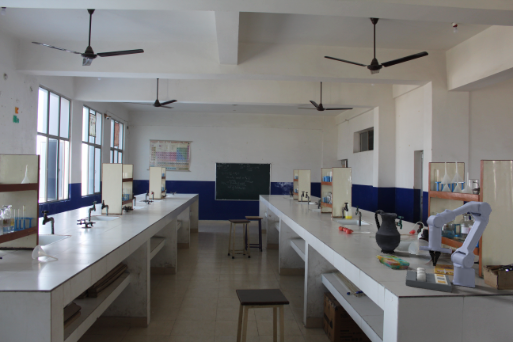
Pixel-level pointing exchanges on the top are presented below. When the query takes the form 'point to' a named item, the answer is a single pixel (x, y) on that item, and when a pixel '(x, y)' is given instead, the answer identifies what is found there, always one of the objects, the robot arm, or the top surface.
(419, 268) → the button
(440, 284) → the board
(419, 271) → the button middle
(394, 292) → the top surface
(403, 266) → the puzzle game
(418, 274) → the button
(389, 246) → the pitcher
